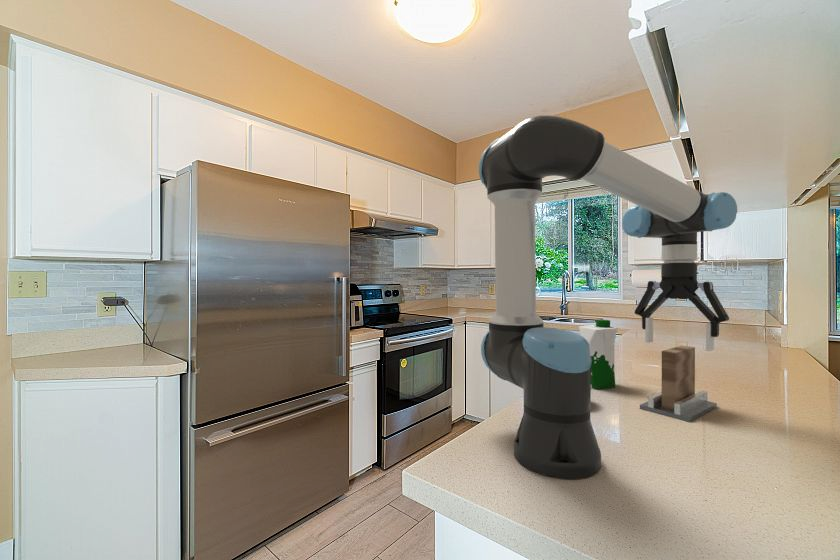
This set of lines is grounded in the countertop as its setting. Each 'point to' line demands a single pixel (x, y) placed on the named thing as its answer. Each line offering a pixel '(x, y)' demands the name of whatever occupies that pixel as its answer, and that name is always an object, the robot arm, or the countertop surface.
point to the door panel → (677, 375)
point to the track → (681, 406)
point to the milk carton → (601, 353)
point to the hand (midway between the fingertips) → (677, 346)
